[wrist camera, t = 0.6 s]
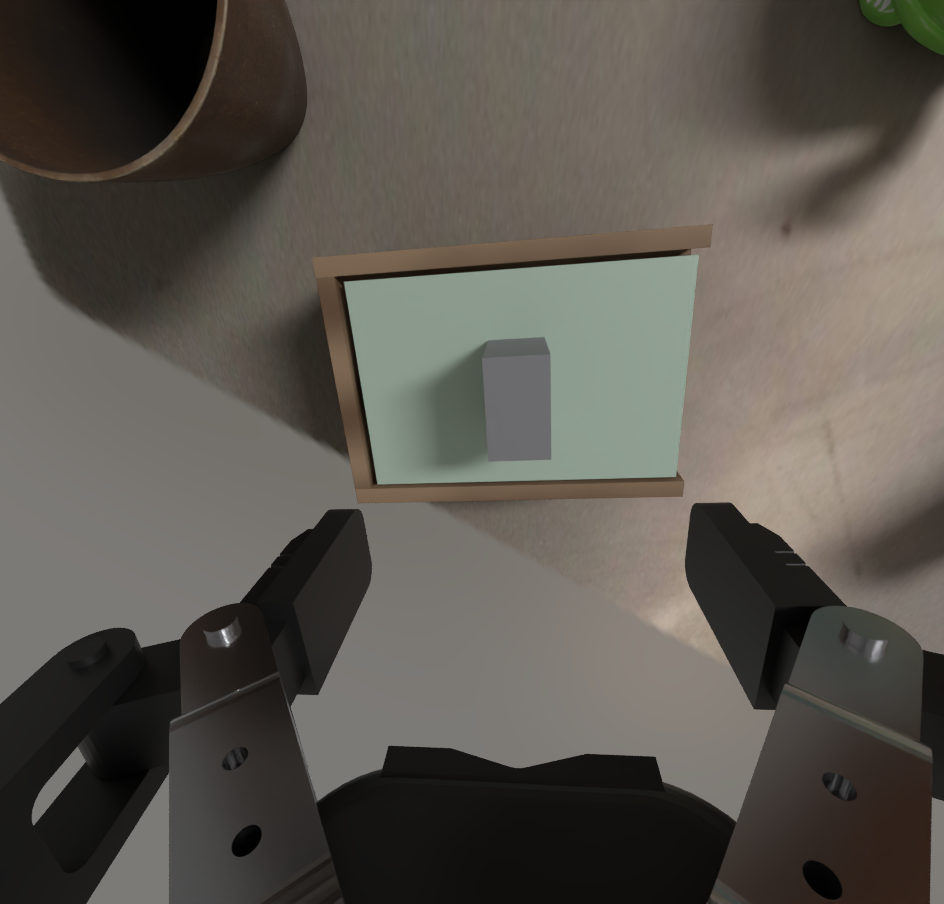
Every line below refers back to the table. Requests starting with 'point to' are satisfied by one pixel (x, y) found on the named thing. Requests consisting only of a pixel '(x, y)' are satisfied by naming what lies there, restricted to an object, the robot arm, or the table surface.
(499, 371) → the lid
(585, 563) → the table surface
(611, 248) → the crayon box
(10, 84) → the plant pot
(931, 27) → the turtle holder
